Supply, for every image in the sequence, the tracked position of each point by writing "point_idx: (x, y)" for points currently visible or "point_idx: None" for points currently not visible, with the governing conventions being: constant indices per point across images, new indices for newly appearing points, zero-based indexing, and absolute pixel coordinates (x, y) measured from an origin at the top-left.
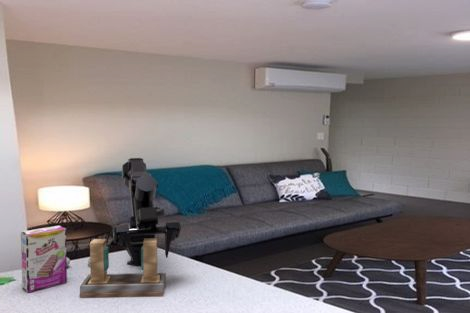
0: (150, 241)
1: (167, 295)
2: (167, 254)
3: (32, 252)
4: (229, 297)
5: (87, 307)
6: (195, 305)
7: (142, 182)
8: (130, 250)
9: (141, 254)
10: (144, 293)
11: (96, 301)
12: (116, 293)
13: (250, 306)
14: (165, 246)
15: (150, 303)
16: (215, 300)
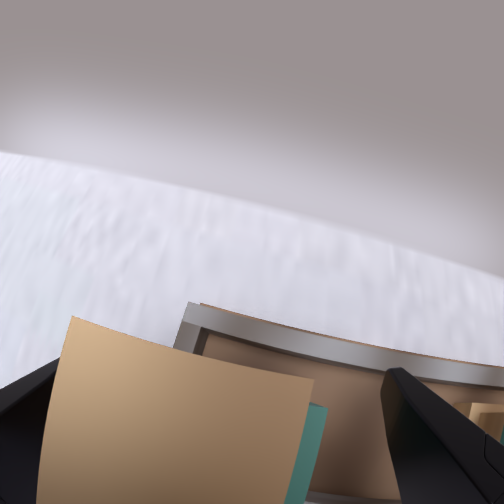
0: (151, 406)
1: (181, 310)
2: (58, 362)
3: None
4: (19, 224)
5: (491, 283)
6: (119, 194)
7: None
8: (454, 416)
9: (315, 404)
10: (286, 326)
11: (474, 329)
12: (415, 354)
13: (20, 165)
14: (26, 460)
15: (269, 252)
16: (55, 214)
